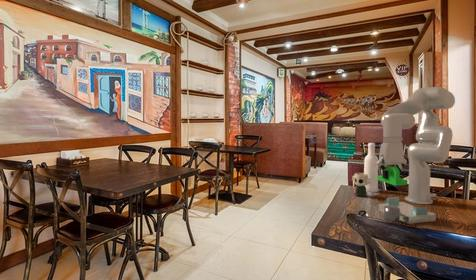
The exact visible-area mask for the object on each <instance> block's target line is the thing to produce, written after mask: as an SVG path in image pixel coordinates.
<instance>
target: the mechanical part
mask: <svg viewBox="0 0 476 280" xmlns="http://www.w3.org/2000/svg"><path fill="white" fill-rule="evenodd" d="M387 171H388V179H384V178H382V175H378V181H380V182H384V183H387V184H390V185H393V186H395V187H396V186H405V185H408V179H405V178H402V177H401V178H400V172H399V169H398V168H397V167H396V166H389V167H388V169H387Z"/></svg>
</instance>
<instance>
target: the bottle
mask: <svg viewBox="0 0 476 280" xmlns="http://www.w3.org/2000/svg"><path fill="white" fill-rule="evenodd" d="M367 149H368V150H367V153H368V154H367V155H365V156H364V159H363V160H364V162H363V163H364V165H363V167H364V168H363V173H365V174H368V178H369V179H370V184H367V185H366V186H365V187H366V191H367V193H377V192H378V191H379V180H378V176H379V166H378V165H377V164H376V163H377V161H378V160H379V157H378V156H377V155H376V153H375V152H376V150H375V149H376V143H375V142H368V144H367Z"/></svg>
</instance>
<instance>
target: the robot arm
mask: <svg viewBox="0 0 476 280" xmlns="http://www.w3.org/2000/svg"><path fill="white" fill-rule="evenodd" d="M455 103H456V97H455V95H454V93H452V92H451V91H449V90H448V89H447V88H445V87H441V86H433V87H432V86H431V87H422V88H418V89H416V90H414V91H413V93H412V94H411V95H410V96H409V97H408V98H407V99H406V100H405V101H402V102H400V103H398V104H395V105H394V106H391V107H389V108H388V109H387V110H386V111H385V112H384V113H383V115H382V116H381V119H380V124H381V127H383V128H382V129H383V130H382V131H383V137H382V138H383V139H382V143H381V144H380V148H379V156H378V161H377V163H376V164H377V165H378V168H380V170H381V171H382V172H381V173H382V178H384V179H388V171H387V170H388V168H389V167H390V165H392V166H393V165H394V167H397V168H398V169H399V172H400V178H401V179H402V170H403V168H404V167H405V165H406V164H407V163H408V170H409V171H408V194H407V196H405V197H404V200H405V201H407V202H409V203H413V204H417V205H432V204H433V203H434V202H433V201H434V200H433V199H432V198H436V197H437V193H431V191H430V190H431V189H430V188H431V168H430V166H429V165H428V163H437V164H439V163H444V162H446V160H447V159H448V156H449V152H450V149H451V144H452V142H453V141H452V140H453V136H454V135H453V130H452V128H451V127H450V126H446V125H439V123H440V122H439V121H440V119H439V117H438V115H437V114H436V113H435V112H434V111H433V110H448V109H452V108H453V107H454V106H455V105H456V104H455ZM417 114H419V118H420V120H419V123H418V126H417V129H416V134H415V140H416V141H417V142H416V143H414V142H413V143H412V144H410V145H409V146H408V147H407V157H408V161H407V159H406V158H405V153H404V152H405V151H404V144H403V143H402V141H403V140H404V138H403V137H402V135H403V134H402V133H403V132H402V131H403V130H407V129H411V128H413V127H414V125H415V124H416V119H415V116H414V115H417ZM427 162H428V163H427Z"/></svg>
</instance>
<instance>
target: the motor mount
mask: <svg viewBox="0 0 476 280" xmlns="http://www.w3.org/2000/svg"><path fill="white" fill-rule="evenodd" d="M377 209H378V211H380V212H382V213H383V221H384V220H386V221H391V222H398V223H399V224H400V221H402V222H404V223H406V224H409V225H410V224H418V223H426V222H427V223H429V222H436V221H437V220H436V218H437V216H436V215H437V214H436V213H434V212H432V211H428V210H429V208H428V207H427V206H419V207H417V206H415V205H412V204H409V203H407V202H403V201H400V197H397V196H395V197H393V196H392V197H386V199H385V203H378V208H377Z"/></svg>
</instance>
